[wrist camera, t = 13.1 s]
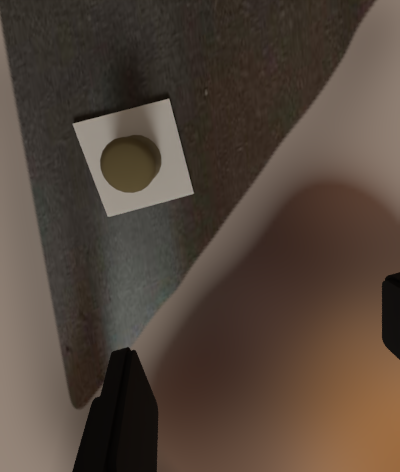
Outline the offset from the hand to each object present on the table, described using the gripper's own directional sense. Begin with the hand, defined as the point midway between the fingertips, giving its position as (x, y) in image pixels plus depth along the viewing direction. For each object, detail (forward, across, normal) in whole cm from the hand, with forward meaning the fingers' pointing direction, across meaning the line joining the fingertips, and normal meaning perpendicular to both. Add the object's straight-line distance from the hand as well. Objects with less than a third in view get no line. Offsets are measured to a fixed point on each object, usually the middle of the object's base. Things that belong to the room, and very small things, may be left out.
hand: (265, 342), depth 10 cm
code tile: (+30, +6, -6) cm, 31 cm away
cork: (+29, +6, -6) cm, 30 cm away
